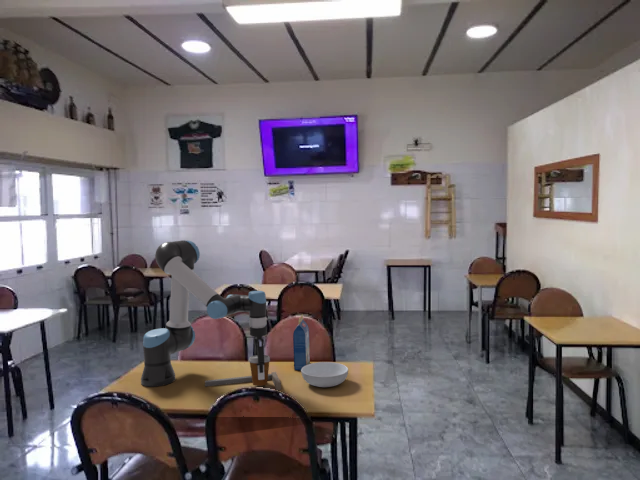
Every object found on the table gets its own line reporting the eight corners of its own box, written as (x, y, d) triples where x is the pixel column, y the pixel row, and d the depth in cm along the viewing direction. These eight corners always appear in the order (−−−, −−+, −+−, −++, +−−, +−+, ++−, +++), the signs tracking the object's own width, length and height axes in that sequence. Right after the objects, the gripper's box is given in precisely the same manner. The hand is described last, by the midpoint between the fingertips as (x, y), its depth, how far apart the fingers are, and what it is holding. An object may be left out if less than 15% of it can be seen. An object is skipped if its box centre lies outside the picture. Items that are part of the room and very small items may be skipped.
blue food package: (293, 370, 235) (292, 319, 234) (297, 362, 247) (296, 314, 245) (306, 370, 234) (305, 319, 233) (310, 362, 246) (308, 314, 245)
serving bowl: (345, 393, 203) (344, 377, 203) (296, 391, 207) (296, 375, 207) (351, 376, 224) (351, 362, 223) (307, 375, 228) (306, 360, 227)
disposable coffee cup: (253, 387, 207) (252, 359, 208) (246, 383, 216) (245, 356, 217) (274, 384, 212) (273, 356, 213) (266, 381, 220) (265, 354, 221)
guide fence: (205, 397, 202) (204, 390, 202) (205, 385, 218) (204, 378, 218) (280, 389, 210) (280, 382, 210) (275, 377, 225) (275, 371, 225)
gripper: (270, 331, 204) (271, 383, 205) (263, 320, 226) (265, 366, 228) (252, 333, 202) (254, 384, 204) (247, 321, 225) (249, 368, 226)
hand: (259, 375), depth 216 cm, fingers open, 10 cm apart
